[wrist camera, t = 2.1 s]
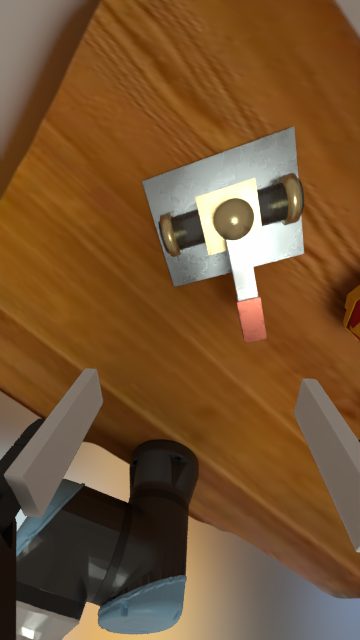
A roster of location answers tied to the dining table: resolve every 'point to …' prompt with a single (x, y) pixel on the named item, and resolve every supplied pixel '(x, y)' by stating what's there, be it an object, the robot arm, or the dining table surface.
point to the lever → (241, 264)
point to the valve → (219, 186)
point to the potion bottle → (353, 313)
